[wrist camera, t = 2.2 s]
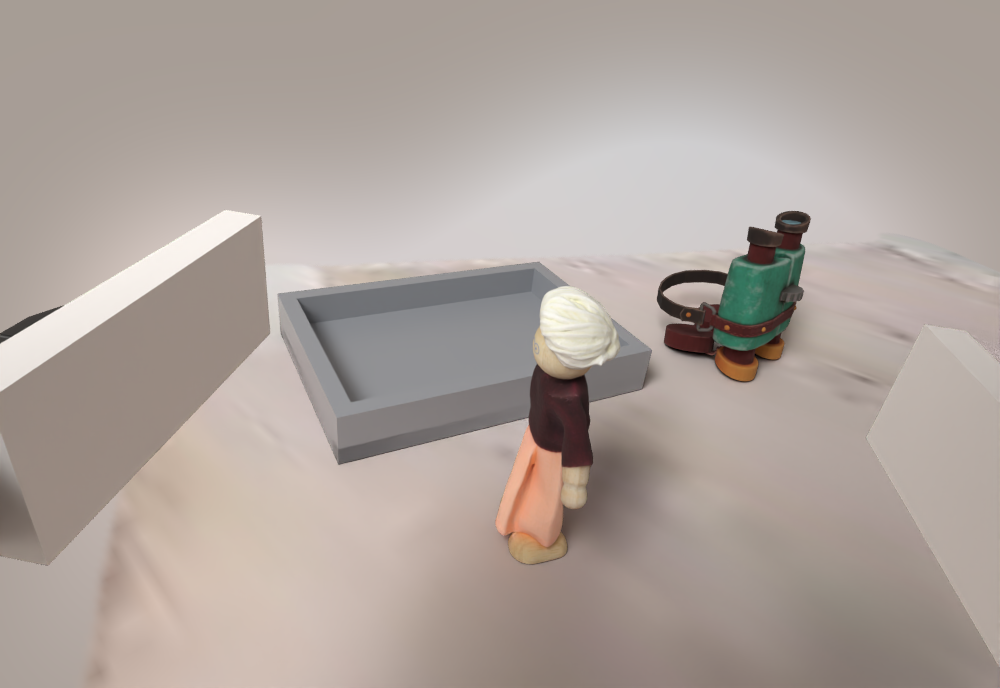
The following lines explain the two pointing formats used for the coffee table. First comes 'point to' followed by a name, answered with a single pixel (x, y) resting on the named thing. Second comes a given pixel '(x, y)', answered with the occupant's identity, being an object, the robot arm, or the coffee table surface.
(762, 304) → the binoculars
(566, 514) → the coffee table surface
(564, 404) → the grandmother figurine
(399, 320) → the tray
